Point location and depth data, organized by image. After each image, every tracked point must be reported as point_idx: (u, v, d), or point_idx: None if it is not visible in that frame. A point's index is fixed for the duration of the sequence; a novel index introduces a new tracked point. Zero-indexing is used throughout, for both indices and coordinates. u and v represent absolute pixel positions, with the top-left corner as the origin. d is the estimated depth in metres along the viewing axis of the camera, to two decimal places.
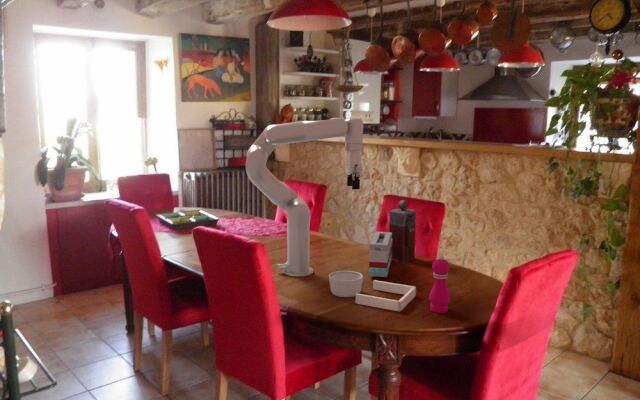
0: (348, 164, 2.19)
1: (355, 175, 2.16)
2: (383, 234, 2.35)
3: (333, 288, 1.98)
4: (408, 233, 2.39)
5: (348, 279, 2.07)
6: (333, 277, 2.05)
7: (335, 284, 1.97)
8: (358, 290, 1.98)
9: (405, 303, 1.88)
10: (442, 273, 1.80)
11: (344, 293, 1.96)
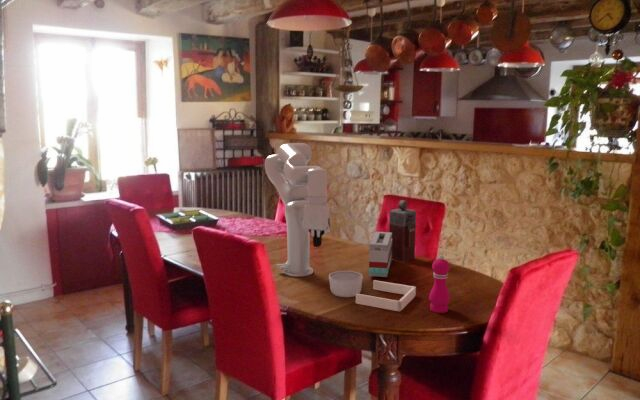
0: (319, 219, 1.99)
1: (323, 232, 2.02)
2: (383, 234, 2.35)
3: (333, 288, 1.98)
4: (408, 233, 2.39)
5: (348, 279, 2.07)
6: (333, 277, 2.05)
7: (335, 284, 1.97)
8: (358, 290, 1.98)
9: (405, 303, 1.88)
10: (442, 273, 1.80)
11: (344, 293, 1.96)
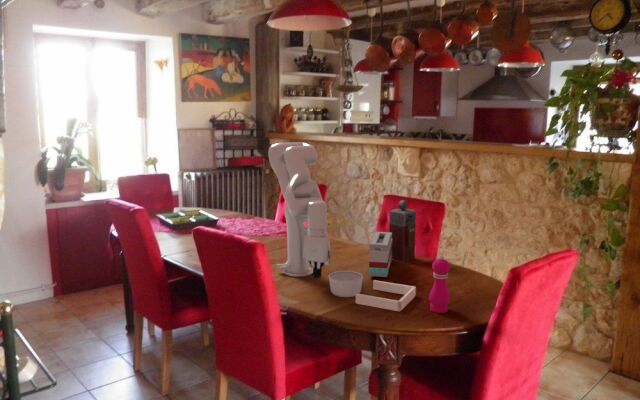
0: (319, 251, 2.02)
1: (323, 263, 2.04)
2: (383, 234, 2.35)
3: (333, 288, 1.98)
4: (408, 233, 2.39)
5: (348, 279, 2.07)
6: (333, 277, 2.05)
7: (335, 284, 1.97)
8: (358, 290, 1.98)
9: (405, 303, 1.88)
10: (442, 273, 1.80)
11: (344, 293, 1.96)
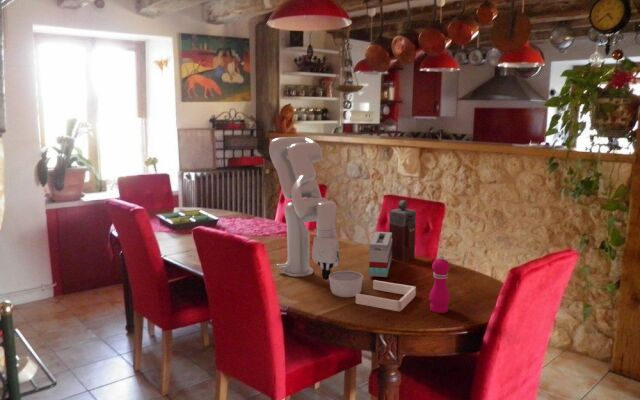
0: (328, 252, 2.00)
1: (332, 265, 2.02)
2: (383, 234, 2.35)
3: (333, 288, 1.98)
4: (408, 233, 2.39)
5: (348, 279, 2.07)
6: (333, 277, 2.05)
7: (335, 284, 1.97)
8: (358, 290, 1.98)
9: (405, 303, 1.88)
10: (442, 273, 1.80)
11: (344, 293, 1.96)
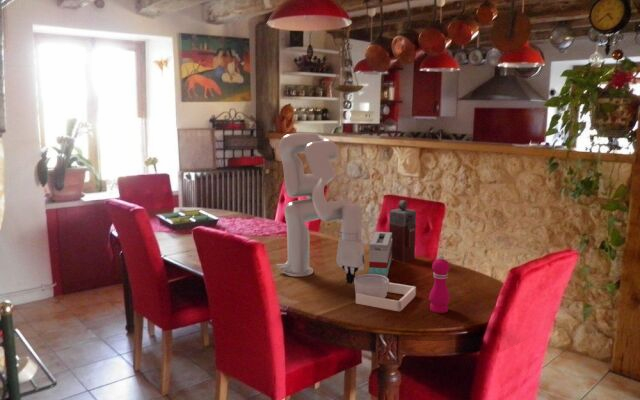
0: (353, 256, 1.95)
1: (357, 269, 1.97)
2: (383, 234, 2.35)
3: (358, 292, 1.94)
4: (408, 233, 2.39)
5: (373, 283, 2.02)
6: (358, 280, 2.00)
7: (360, 288, 1.92)
8: (384, 294, 1.93)
9: (405, 303, 1.88)
10: (442, 273, 1.80)
11: None
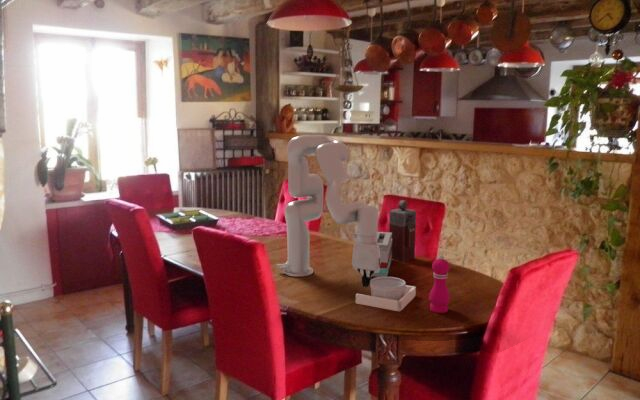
0: (369, 259, 1.92)
1: (373, 271, 1.95)
2: (383, 234, 2.35)
3: (374, 295, 1.91)
4: (408, 233, 2.39)
5: (389, 285, 1.99)
6: (374, 283, 1.97)
7: (377, 291, 1.89)
8: (401, 297, 1.90)
9: (405, 303, 1.88)
10: (442, 273, 1.80)
11: None
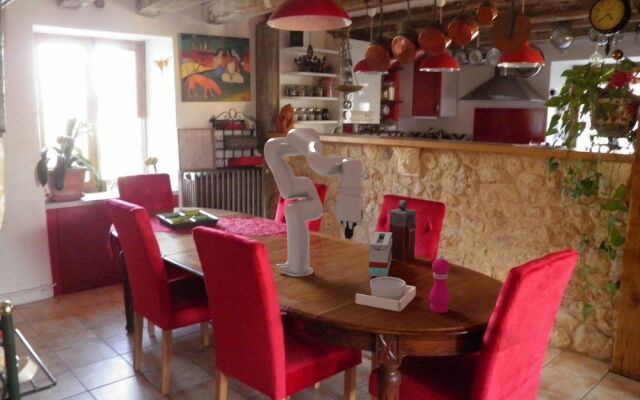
0: (352, 211, 1.95)
1: (355, 224, 1.98)
2: (383, 234, 2.34)
3: (375, 295, 1.91)
4: (408, 233, 2.39)
5: (390, 286, 1.99)
6: (374, 283, 1.97)
7: (377, 291, 1.89)
8: (401, 297, 1.90)
9: (405, 303, 1.88)
10: (442, 273, 1.80)
11: None
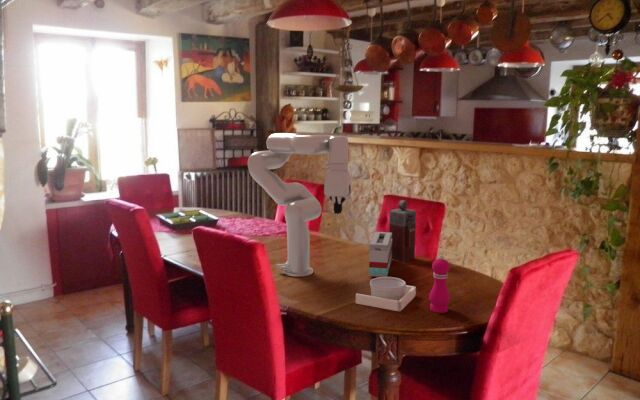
0: (340, 185, 2.03)
1: (344, 198, 2.05)
2: (383, 234, 2.34)
3: (375, 295, 1.91)
4: (408, 233, 2.39)
5: (389, 286, 1.99)
6: (374, 283, 1.97)
7: (377, 291, 1.89)
8: (401, 297, 1.90)
9: (405, 303, 1.88)
10: (442, 273, 1.80)
11: None
